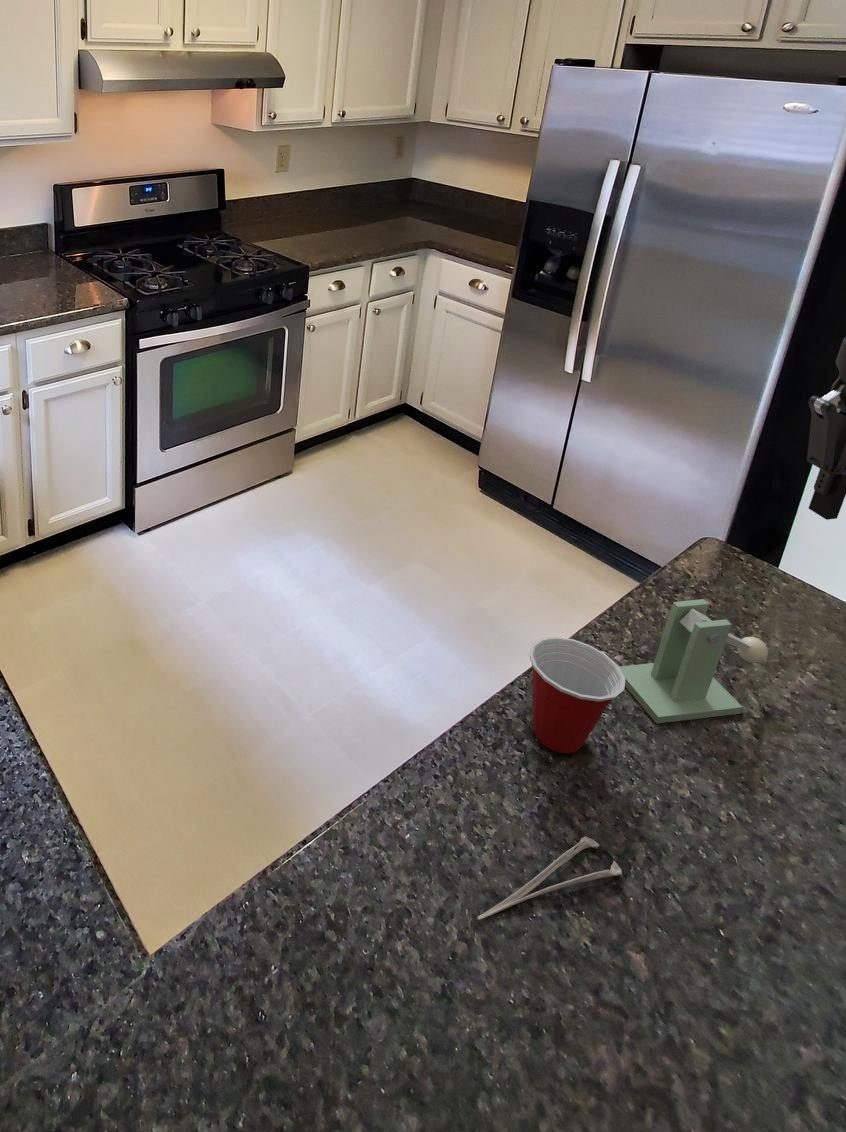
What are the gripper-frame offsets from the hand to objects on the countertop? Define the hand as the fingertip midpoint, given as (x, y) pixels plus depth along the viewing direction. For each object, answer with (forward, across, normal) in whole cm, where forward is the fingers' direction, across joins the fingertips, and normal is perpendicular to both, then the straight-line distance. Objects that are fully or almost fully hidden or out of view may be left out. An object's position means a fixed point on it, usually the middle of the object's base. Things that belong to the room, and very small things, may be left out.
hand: (822, 513), depth 102 cm
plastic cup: (+25, +36, +7) cm, 44 cm away
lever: (+18, +12, +3) cm, 22 cm away
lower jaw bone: (+25, +49, +25) cm, 60 cm away
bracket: (+25, +16, +3) cm, 30 cm away
